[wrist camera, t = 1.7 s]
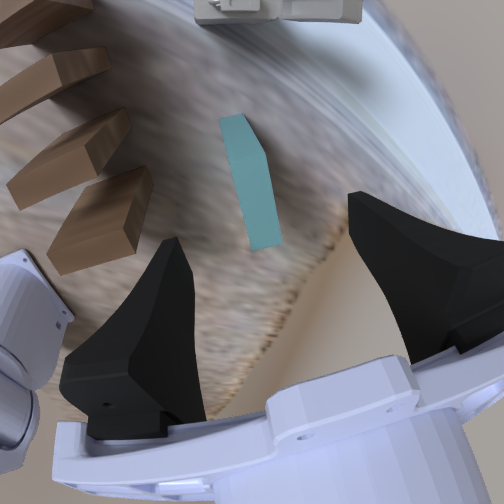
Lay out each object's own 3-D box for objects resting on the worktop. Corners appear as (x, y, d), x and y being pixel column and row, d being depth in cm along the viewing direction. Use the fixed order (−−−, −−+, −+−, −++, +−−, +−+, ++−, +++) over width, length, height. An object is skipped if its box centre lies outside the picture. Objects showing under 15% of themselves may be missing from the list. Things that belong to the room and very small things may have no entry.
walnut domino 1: (94, 10, 13) (37, -2, 7) (31, 44, 13) (-42, 58, 7) (89, -10, 12) (31, -29, 6) (26, 25, 12) (-47, 33, 6)
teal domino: (242, 113, 19) (265, 153, 13) (257, 178, 22) (282, 243, 16) (219, 119, 19) (228, 162, 13) (235, 183, 22) (252, 251, 16)
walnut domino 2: (111, 68, 16) (62, 86, 10) (48, 98, 16) (-17, 134, 10) (105, 47, 15) (51, 53, 9) (42, 78, 15) (-27, 107, 9)
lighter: (195, 25, 15) (191, 11, 9) (195, 0, 14) (191, -27, 8) (308, 27, 16) (367, 24, 10) (309, 4, 15) (369, -11, 9)
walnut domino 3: (131, 128, 19) (97, 176, 12) (70, 153, 19) (19, 210, 12) (124, 107, 18) (84, 145, 11) (62, 134, 18) (6, 184, 11)
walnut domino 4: (153, 185, 21) (135, 253, 15) (94, 205, 21) (60, 275, 15) (145, 165, 20) (122, 228, 14) (85, 187, 20) (46, 254, 14)
